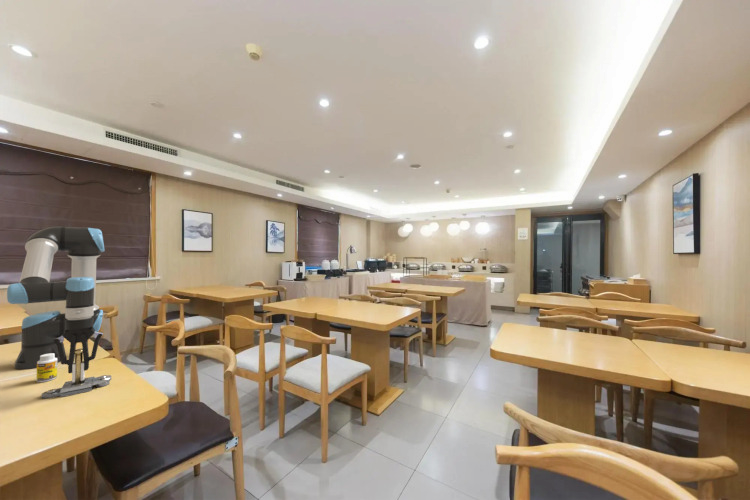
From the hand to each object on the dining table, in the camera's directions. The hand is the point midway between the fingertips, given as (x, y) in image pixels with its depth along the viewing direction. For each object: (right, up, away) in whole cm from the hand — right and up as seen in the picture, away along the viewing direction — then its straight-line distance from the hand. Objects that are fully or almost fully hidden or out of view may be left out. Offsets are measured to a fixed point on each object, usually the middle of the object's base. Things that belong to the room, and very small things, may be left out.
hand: (78, 380), depth 109 cm
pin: (0, -2, 0) cm, 2 cm away
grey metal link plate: (0, -4, 0) cm, 4 cm away
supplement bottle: (-22, -4, +8) cm, 23 cm away
